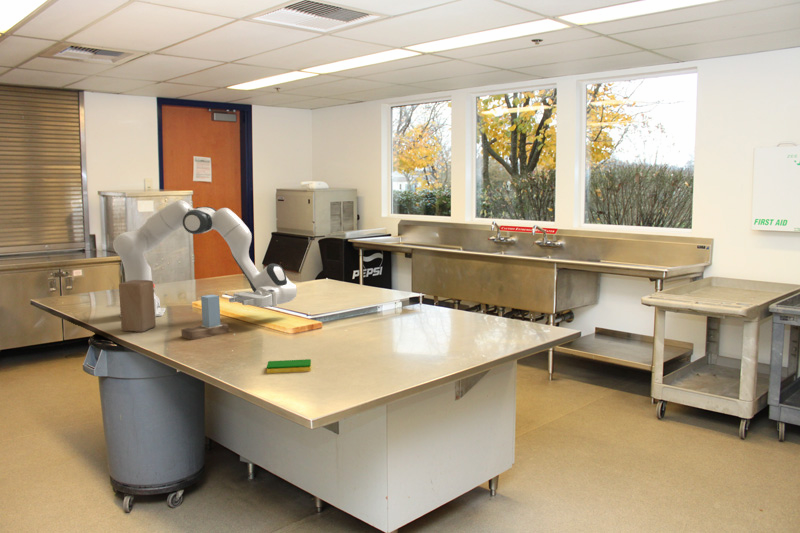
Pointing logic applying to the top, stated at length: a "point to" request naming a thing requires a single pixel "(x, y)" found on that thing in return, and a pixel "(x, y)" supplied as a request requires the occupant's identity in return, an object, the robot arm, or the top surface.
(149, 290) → the block
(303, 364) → the dish sponge
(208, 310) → the post
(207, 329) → the plinth
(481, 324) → the top surface
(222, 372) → the top surface
